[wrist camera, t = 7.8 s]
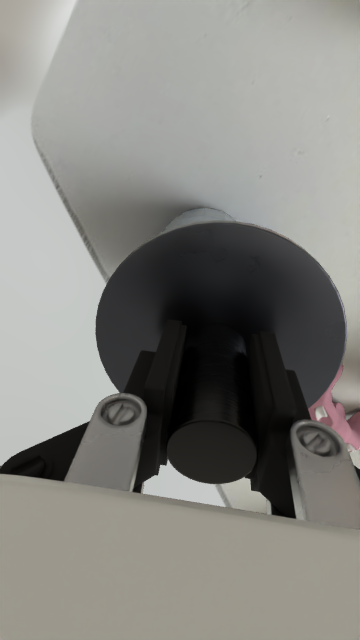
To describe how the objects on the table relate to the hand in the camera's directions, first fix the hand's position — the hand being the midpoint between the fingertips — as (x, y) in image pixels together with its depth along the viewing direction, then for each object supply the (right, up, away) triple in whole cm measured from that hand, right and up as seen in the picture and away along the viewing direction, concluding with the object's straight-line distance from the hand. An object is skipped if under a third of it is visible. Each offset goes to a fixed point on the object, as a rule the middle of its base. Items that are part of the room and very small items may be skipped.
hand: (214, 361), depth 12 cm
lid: (0, +1, +1) cm, 1 cm away
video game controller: (+17, -7, +25) cm, 31 cm away
